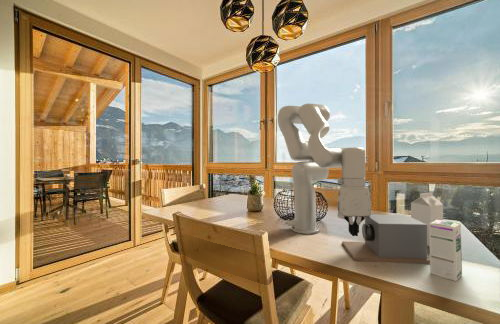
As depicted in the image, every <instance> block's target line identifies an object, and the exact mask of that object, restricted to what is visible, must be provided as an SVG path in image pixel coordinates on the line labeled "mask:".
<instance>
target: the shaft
mask: <svg viewBox="0 0 500 324" xmlns="http://www.w3.org/2000/svg"><path fill="white" fill-rule="evenodd" d="M361 233H362V237H363V241H364V242H365V241H373V240H374V229H373V226H372V225H371V224H365V223H363V224H362V226H361Z"/></svg>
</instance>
